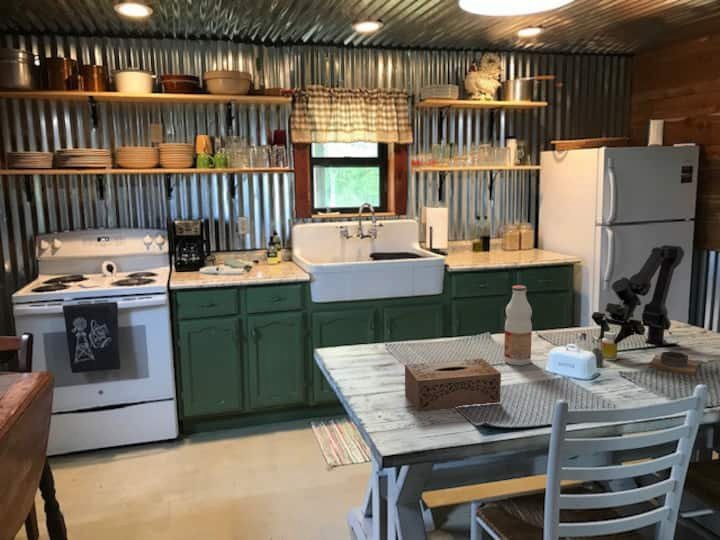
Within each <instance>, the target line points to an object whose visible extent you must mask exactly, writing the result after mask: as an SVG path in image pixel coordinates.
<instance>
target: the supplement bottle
mask: <svg viewBox="0 0 720 540" xmlns="http://www.w3.org/2000/svg"><path fill="white" fill-rule="evenodd" d="M604 336H605V337H604V338H603V339H602V341H601V347H602V351H603V358H604V359H603V360H605V361H616V360H617V359H618V346H619V344H618V343H617V344H614V341H615V339H616V337H617V333H616V332H615V331H610V330H609V331H607V332H604Z"/></svg>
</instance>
